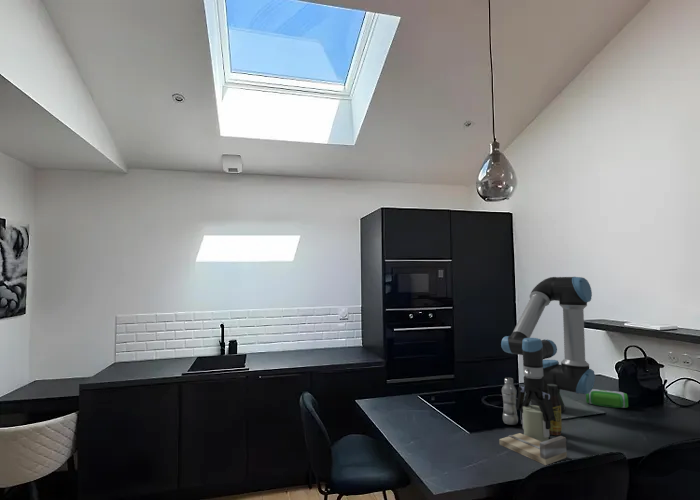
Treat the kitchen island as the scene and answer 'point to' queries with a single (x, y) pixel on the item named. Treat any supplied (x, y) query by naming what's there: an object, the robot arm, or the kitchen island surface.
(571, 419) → the kitchen island surface
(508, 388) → the plastic bottle
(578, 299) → the robot arm
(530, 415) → the can
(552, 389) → the sauce bottle
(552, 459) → the rail board
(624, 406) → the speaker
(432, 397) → the kitchen island surface
